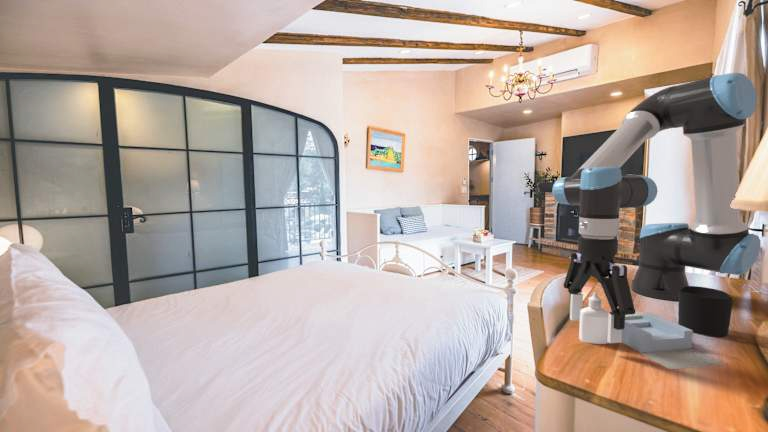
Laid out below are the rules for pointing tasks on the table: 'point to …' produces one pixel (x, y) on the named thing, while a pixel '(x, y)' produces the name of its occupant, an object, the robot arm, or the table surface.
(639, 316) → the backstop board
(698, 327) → the pen holder
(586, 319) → the eye dropper bottle
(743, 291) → the table surface
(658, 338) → the cradle block
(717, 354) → the table surface
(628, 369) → the table surface
